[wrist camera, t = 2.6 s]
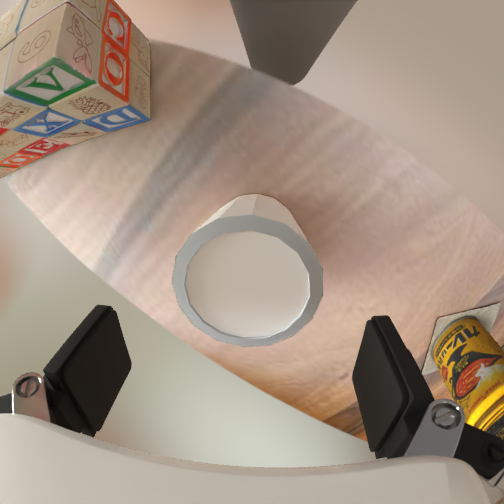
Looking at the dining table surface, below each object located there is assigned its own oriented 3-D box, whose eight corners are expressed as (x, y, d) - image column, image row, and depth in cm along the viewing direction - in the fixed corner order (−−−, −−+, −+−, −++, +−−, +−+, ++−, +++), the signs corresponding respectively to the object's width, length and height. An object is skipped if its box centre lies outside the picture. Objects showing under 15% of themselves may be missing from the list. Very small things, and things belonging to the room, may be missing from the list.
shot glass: (249, 298, 21) (241, 367, 15) (182, 230, 19) (142, 280, 13) (327, 242, 19) (353, 298, 13) (260, 161, 17) (254, 179, 11)
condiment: (436, 317, 21) (501, 421, 10) (500, 301, 20) (566, 378, 9) (419, 374, 24) (459, 469, 13) (480, 355, 23) (526, 433, 12)
